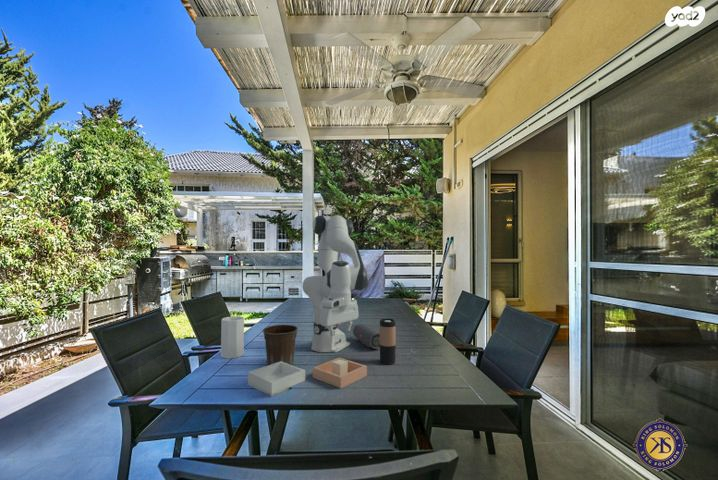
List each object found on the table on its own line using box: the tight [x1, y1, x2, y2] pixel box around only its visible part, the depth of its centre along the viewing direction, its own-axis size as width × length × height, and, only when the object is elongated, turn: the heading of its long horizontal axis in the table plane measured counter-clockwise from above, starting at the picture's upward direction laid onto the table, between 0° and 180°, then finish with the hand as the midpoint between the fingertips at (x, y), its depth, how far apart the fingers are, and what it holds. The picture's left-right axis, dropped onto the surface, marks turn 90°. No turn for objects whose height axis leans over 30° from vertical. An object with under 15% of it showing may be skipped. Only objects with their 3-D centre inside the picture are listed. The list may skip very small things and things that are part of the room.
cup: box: [220, 316, 245, 360], centre depth 163 cm, size 11×11×18 cm
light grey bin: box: [247, 361, 306, 397], centre depth 129 cm, size 16×16×5 cm
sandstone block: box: [332, 359, 348, 376], centre depth 135 cm, size 4×4×6 cm
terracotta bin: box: [312, 357, 368, 389], centre depth 135 cm, size 16×16×5 cm
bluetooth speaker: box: [352, 323, 380, 350], centre depth 181 cm, size 23×9×10 cm, turn 25°
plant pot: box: [262, 324, 299, 366], centre depth 153 cm, size 16×16×16 cm
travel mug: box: [379, 318, 397, 366], centre depth 154 cm, size 8×8×20 cm
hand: (340, 333), depth 135 cm, fingers open, 8 cm apart
